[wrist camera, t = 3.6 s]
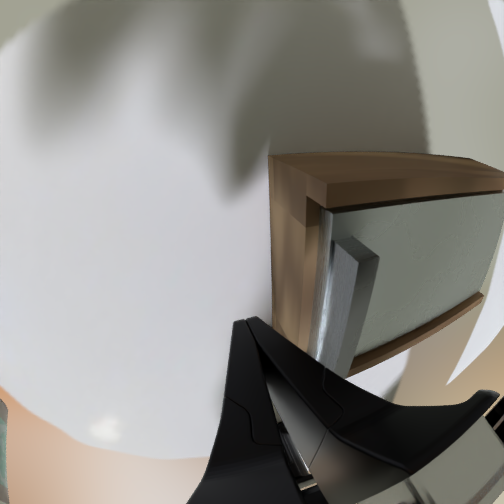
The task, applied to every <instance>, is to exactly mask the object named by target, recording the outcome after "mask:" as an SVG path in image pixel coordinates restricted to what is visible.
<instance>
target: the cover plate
mask: <svg viewBox="0 0 504 504" xmlns="http://www.w3.org/2000/svg"><path fill="white" fill-rule="evenodd" d="M503 221H504V190H493V191H479V192H466V193H455V194H444V195H434V196H424V197H414V198H405V199H396V200H387V201H379V202H371V203H363V204H355V205H347V206H339V207H332V208H325V207H323V206H322V205H321V206H320V215H319V234H318V249H317V263H316V275H315V286H314V297H313V306H312V315H311V324H310V332H309V340H308V348H307V354H308V355H310V356H311V357H313V358H314V359H315V360H317V361H318V362H320V363H321V364H323V365H324V366H325V368H326V367H327V368H328V369H330V370H331V371H333V372H334V373H336V374H337V375H339V376H340V377H342V378H343V379H345V378H347V375H348V372H349V369H350V367H351V364H352V361H353V358H354V357H356V356H358V355H361V354H363V353H366V352H368V351H370V350H372V349H375V348H377V347H379V346H381V345H383V344H386V343H388V342H390V341H392V340H394V339H396V338H398V337H400V336H402V335H404V334H406V333H408V332H410V331H412V330H414V329H416V328H418V327H420V326H422V325H423V324H425V323H427V322H429V321H431V320H433V319H434V318H436V317H438V316H440V315H441V314H443V313H445V312H446V311H448V310H450V309H452V308H453V307H455V306H456V305H458V304H460V303H461V302H463V301H464V300H466V299H468V298H469V297H471V296H472V295H474V294H475V293H477V292H478V291H480V289H481V287H482V284H483V281H484V279H485V277H486V274H487V271H488V269H489V266H490V263H491V260H492V258H493V254H494V252H495V249H496V245H497V242H498V239H499V236H500V232H501V228H502V225H503Z"/></svg>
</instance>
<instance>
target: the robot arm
mask: <svg viewBox="0 0 504 504" xmlns="http://www.w3.org/2000/svg"><path fill="white" fill-rule="evenodd" d="M499 396H500V394H499V393H497V392H495V391H491V390H478V391H477V392H476V393H475V394H474V395H473V396H472V397H471V398H470V399H468V400H467V401H465V402H463V403H460V404H456V405H444V406H402V405H397V404H394V403H391V402H388V401H386V400H384V399H382V398H380V397H378V396H376V395H374V394H372V393H369V392H367V391H365V390H363V389H361V388H360V387H358V386H356V385H354V384H352V383H350V382H348V381H347V380H345V379H343V378H342V377H340V376H339V375H337V374H336V373H334V372H333V371H331V370H330V369H328V368H327V367H326V368H325V366H324V365H323V364H321V363H320V362H318V361H317V360H315V359H314V358H313V357H311V356H310V355H308V354H307V353H306V352H304V351H303V350H302V349H300V348H299V347H297V346H296V345H295V344H293V343H292V342H291V341H289V340H288V339H286V338H285V337H284V336H282V335H281V334H280V333H278V332H277V331H276V330H274V329H273V328H272V327H270V326H269V325H268V324H266V323H265V322H264V321H262V320H261V319H260V318H258V317H256V316H255V317H250V318H247V319H246V320H244V319H242V320H238V321H234V323H233V330H232V337H231V345H230V353H229V361H228V368H227V376H226V384H225V392H224V399H223V407H222V413H221V419H220V423H219V427H218V431H217V435H216V439H215V442H214V445H213V449H212V452H211V455H210V459H209V462H208V465H207V468H206V471H205V473H204V476H203V478H202V480H201V482H200V483H199V485H198V487H197V488H196V490H195V491H194V493H193V494H192V496H191V498H190V499H189V500H188V502H187V503H186V504H356V503H357V504H492V503H493V502H494V501H495V500H496V499H497V498H498V497H499V495H500V494H501V493H502V492H503V491H504V396H503V397H502V398H501V399H500V400H499V402H498V403H497V404H496V405H495V406H494V407H493V408H492V409H491V410H490V411H489V412H488V413H487V414H486V416H485V417H484V416H483V414H484V413H485V412H486V411H487V410H488V408H490V406H491V405H492V404H493V403H494V402H495V401H496V400H497V398H498V397H499ZM271 400H272V401H271ZM272 402H273V404H274V406H275V408H276V409H277V411H278V413H279V415H280V417H281V419H282V421H283V423H281V424H277V421H276V417H275V413H274V409H273V405H272ZM298 451H299V452H298ZM299 453H300V454H299ZM300 455H301V456H302V458H303V460H304V462H305V464H306V465H307V467H308V468H309V471H310V473H311V474H309V473H308V471H307V469H306V467H305V465H304V462H303V460H302V458H301V456H300ZM314 483H317V485H315V486H313V487H310V488H307V489H304V490H302V491H301V490H300V488H303V487H306V486H309V485H311V484H314Z"/></svg>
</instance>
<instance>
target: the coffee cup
mask: <svg viewBox="0 0 504 504" xmlns="http://www.w3.org/2000/svg"><path fill="white" fill-rule="evenodd" d="M7 415H8V409H7V407H6V405H5V403H4V402H3V401H2V400H1V399H0V504H9V496H8V486H7V471H6V431H7Z"/></svg>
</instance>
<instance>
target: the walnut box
mask: <svg viewBox="0 0 504 504" xmlns="http://www.w3.org/2000/svg"><path fill="white" fill-rule="evenodd" d="M268 169H269V196H270V228H271V270H272V328H273V329H274V330H276V331H277V332H278V333H280V334H281V335H282V336H284V337H285V338H286V339H288V340H289V341H291V342H292V343H293V344H295V345H296V346H297V347H299V348H300V349H302V350H303V351H304V352H306V353H307V348H308V340H309V332H310V324H311V315H312V306H313V297H314V286H315V275H316V263H317V249H318V234H319V215H320V206H321V205H322V206H323V207H325V208H332V207H339V206H347V205H355V204H363V203H371V202H379V201H387V200H396V199H405V198H414V197H424V196H434V195H444V194H455V193H466V192H479V191H493V190H504V172H503V171H500V170H498V169H496V168H493V167H491V166H488V165H486V164H483V163H480V162H478V161H475V160H473V159H470V158H463V157H454V156H444V155H433V154H419V153H400V152H317V153H297V154H282V155H269V156H268ZM483 297H484V295H483V294H482V293H480V292H479V291H478V292H477V293H475V294H474V295H472V296H471V297H469V298H468V299H466V300H464V301H463V302H461V303H460V304H458V305H456V306H455V307H453V308H452V309H450V310H448V311H446V312H445V313H443V314H441V315H440V316H438V317H436V318H434V319H433V320H431V321H429V322H427V323H425V324H423V325H422V326H420V327H418V328H416V329H414V330H412V331H410V332H408V333H406V334H404V335H402V336H400V337H398V338H396V339H394V340H392V341H390V342H388V343H386V344H383V345H381V346H379V347H377V348H375V349H372V350H370V351H368V352H366V353H363V354H361V355H358V356H356V357H354V358H353V361H352V364H351V367H350V369H349V372H348V375H347V378H348V377H350V376H353V375H355V374H357V373H360V372H362V371H364V370H366V369H368V368H371V367H373V366H375V365H377V364H379V363H381V362H383V361H385V360H387V359H389V358H391V357H393V356H395V355H397V354H399V353H401V352H403V351H405V350H407V349H408V348H410V347H412V346H414V345H416V344H417V343H419V342H421V341H423V340H424V339H426V338H428V337H430V336H431V335H433V334H434V333H436V332H438V331H440V330H441V329H443V328H444V327H446V326H447V325H449V324H450V323H452V322H454V321H455V320H457V319H458V318H460V317H461V316H462V315H464V314H465V313H467V312H468V311H470V310H471V309H473V308H474V307H475V306H477V305H478V304H480V303H481V301H482V299H483ZM345 379H346V378H345Z"/></svg>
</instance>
